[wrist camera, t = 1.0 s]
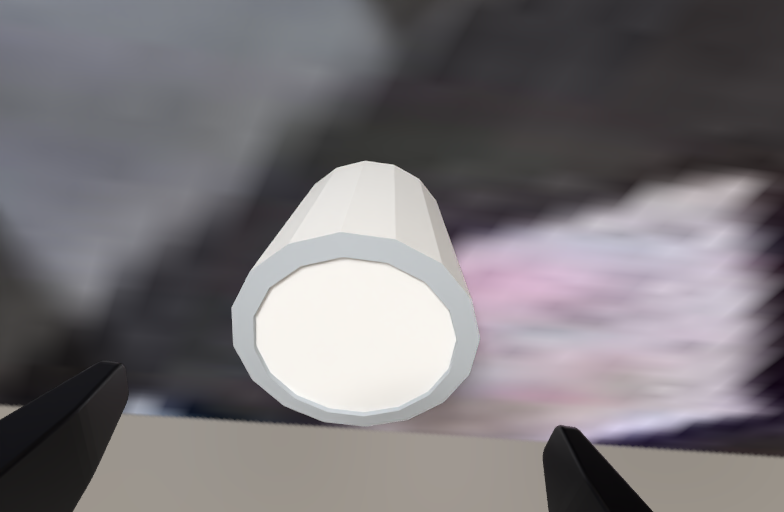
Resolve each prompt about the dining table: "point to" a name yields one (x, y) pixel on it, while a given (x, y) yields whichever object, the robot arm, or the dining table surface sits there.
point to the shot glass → (358, 303)
